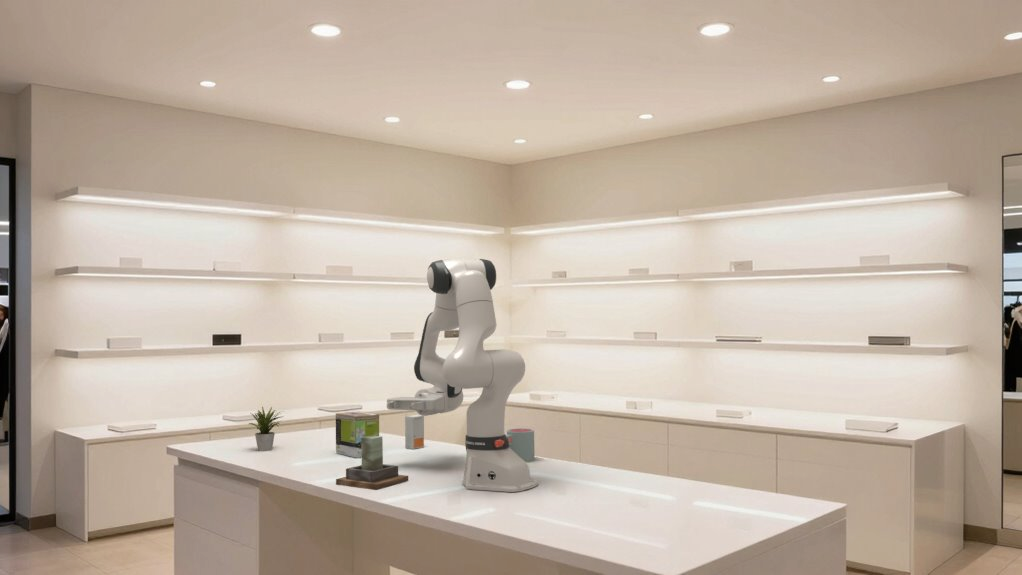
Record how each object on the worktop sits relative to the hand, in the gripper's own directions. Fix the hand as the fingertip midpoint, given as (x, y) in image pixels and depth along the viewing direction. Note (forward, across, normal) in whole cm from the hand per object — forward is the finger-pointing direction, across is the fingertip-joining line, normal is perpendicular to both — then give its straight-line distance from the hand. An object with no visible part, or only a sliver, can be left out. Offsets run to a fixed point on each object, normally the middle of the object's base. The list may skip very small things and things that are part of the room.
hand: (399, 405), depth 265 cm
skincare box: (-39, -27, +20) cm, 51 cm away
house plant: (-10, -74, +19) cm, 77 cm away
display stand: (+16, +2, +21) cm, 27 cm away
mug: (-34, +21, +21) cm, 45 cm away
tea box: (-19, -37, +20) cm, 46 cm away
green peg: (+16, +2, +20) cm, 25 cm away
